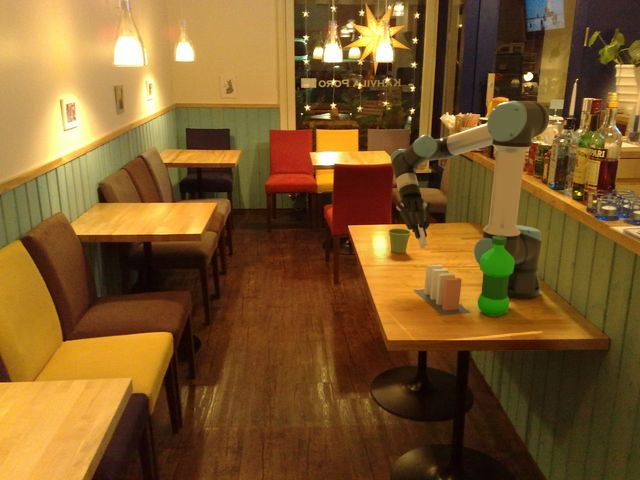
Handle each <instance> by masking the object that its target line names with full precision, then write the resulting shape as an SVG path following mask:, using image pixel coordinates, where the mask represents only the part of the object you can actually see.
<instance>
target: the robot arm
mask: <svg viewBox="0 0 640 480" xmlns="http://www.w3.org/2000/svg"><path fill="white" fill-rule="evenodd" d="M486 121H487V122H486V123H484V124H481V125H478V126H475V127H472V128H469V129H466V130H463V131H460V132H457V133H453V134H451V135H448V136H444V137H441V138H434V137H432V136H431V135H428V134H423V135H421V136H420V137H418V138H416V139H415V140H414V142H413V143H411V145H410V146H408V147H407V148H400V149H397V150H395V151H393V152H392V153H391V155H390V162H391V164H390V165H391V168H392V171H393V174H394V178H395V183H396V186H397V189H398V194H399V199H400V203H398V204H397V205H396V207H395V210H396V211H397V212H398V213H399V214H400V216H401V218H402V220H403V223H404V224H405V226H406V228H407V230H409V231H411V230H412V231H411V233H412V232H413V233H414V237H415V239H416V240H417V239H418V243H419V247H420V249H425V248H426V247H427V245H428V242H427V236H428V233H427V229H428V228H429V227H430V223H431V220H430V219H431V218H430V207H431V205H432V203H430V202H425V200H424V199H423V198H422V192H421V189H420V186H419V185H420V184H419V182H418V179H417V175H416V169H418V167H420V166H421V165H422V164H423V163H424V162H429V161H438V160H449V159H451V158H454V157H456V156H457V155H462V154H464V153H469V152H471V151H476V150H478V149H482V148H485V147H489V146H493V147H494V149H495V150H496V152H495V162H494V170H493V171H494V172H493V181H492V189H491V200H490V207H489V209H490V210H489V219H488V224H487V225H486V226H484V227H483V229H482V236H481V237H482V238H480V239H479V240H478V241H477V242H476V243H475V245H474V249H473V254H474V258H475V259H474V260H475V261H476V263H478V265H479V266H480V260H481V257H482V255H483V254H484V253H486V252H487V251H488V250H490V249H492V248H493V246H494V244H492V237H493V236H504V237H506V238H507V240H506V245H504V249H505V250H506V251H507V252H508V253H509V254H510V255H511V256H512V257H513V258H514V261H515V263H514V270H513V273H512V274H511V275H509V280H508V290H507V296H508V298H514V299H519V300H520V299H521V300H522V299H523V300H525V299H526V300H527V299H528V300H529V299H530V300H531V299H535V298H538V297H539V296H540V294H541V293H540V292H541V286H540V280H539V276H538V275H539V274H538V269H539V268H538V267H539V262H540V261H539V260H540V254H541V246H542V242H543V240H542V239H543V237H542V236H543V234H542V231H541V230H539V228H535V227H531V226H526V225H521V224H518V223H517V222H518V217H519V215H518V213H519V209H520V208H519V205H520V197H521V190H522V182H523V175H524V165H525V157H526V152H527V151H528V150H530V149H531V148H532V141H533V138H536V137H538V136H539V137H540V136H541V135H542V134H544V132H545V131H546V130H547V129H548V126H549V123H550V114H549V111H548V109H547V108H546V106H545V105H543V104H542V103H541V102H539V101H536V100H509V101H506V102H505V101H504V102H501V103H499V104H497V105H496V106H494V108H493V109H492V110H491V112H490V113H489V115H488V117H487V120H486ZM422 208H423V212H422Z"/></svg>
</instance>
